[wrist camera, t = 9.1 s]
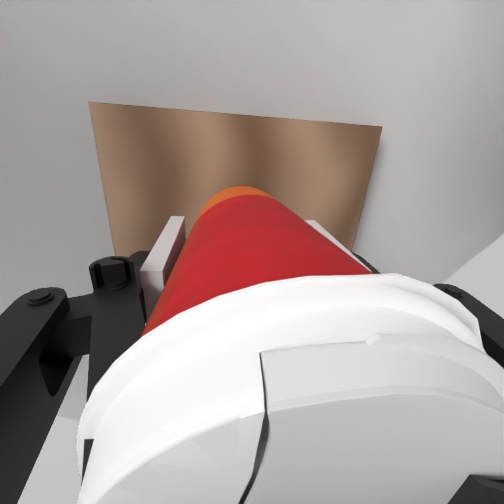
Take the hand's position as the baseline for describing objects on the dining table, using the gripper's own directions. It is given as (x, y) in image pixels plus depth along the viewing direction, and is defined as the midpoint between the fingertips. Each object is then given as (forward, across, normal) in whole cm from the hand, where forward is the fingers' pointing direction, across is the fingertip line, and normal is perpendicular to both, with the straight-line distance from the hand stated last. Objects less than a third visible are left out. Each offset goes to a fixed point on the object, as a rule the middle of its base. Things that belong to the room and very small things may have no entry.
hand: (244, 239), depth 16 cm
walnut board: (+5, 0, 0) cm, 5 cm away
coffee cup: (+2, 0, 0) cm, 2 cm away
